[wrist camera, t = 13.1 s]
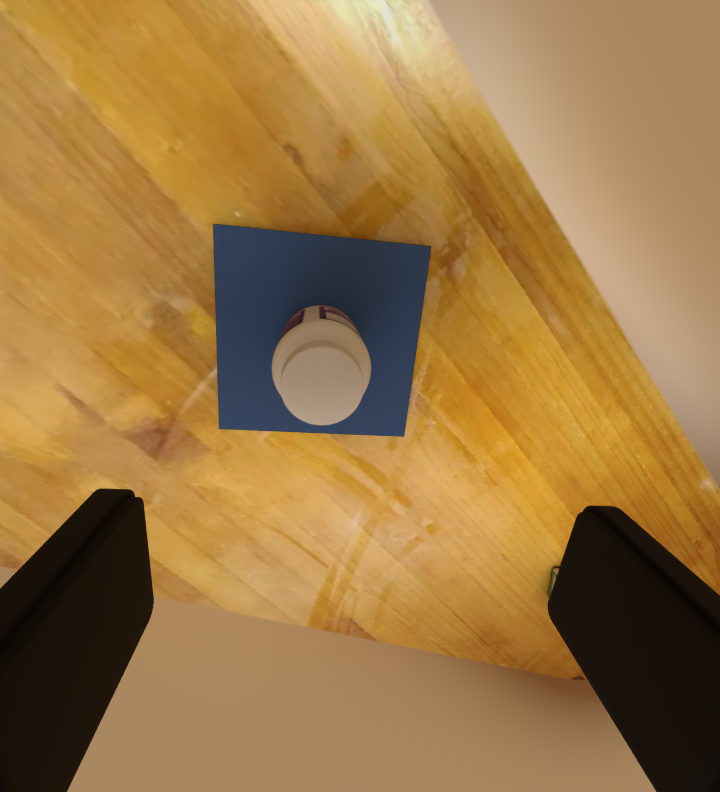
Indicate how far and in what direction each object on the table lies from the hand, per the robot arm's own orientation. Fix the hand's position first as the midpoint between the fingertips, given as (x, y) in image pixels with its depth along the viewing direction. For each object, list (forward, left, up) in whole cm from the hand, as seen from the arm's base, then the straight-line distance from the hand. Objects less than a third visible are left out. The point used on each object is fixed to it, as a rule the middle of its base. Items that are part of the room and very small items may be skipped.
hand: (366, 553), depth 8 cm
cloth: (0, -1, -21) cm, 21 cm away
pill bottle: (0, -1, -21) cm, 21 cm away
